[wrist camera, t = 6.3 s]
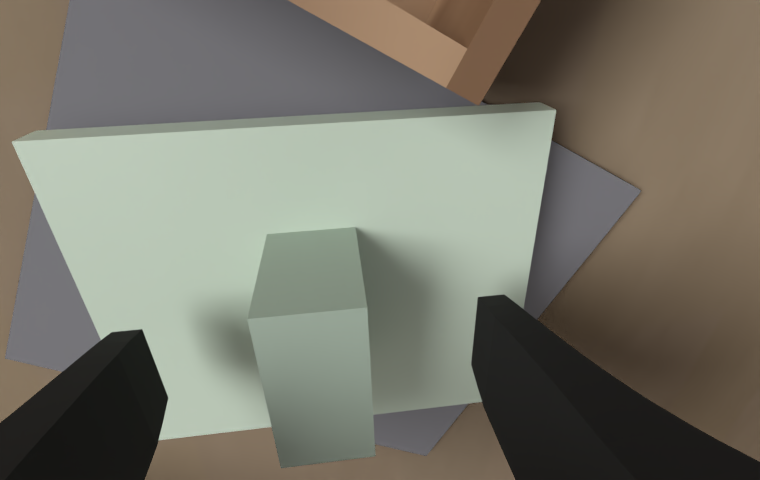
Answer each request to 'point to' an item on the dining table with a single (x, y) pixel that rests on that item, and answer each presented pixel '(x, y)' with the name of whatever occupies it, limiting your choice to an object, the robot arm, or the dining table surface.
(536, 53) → the dining table surface
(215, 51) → the mat
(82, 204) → the lid
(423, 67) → the box
